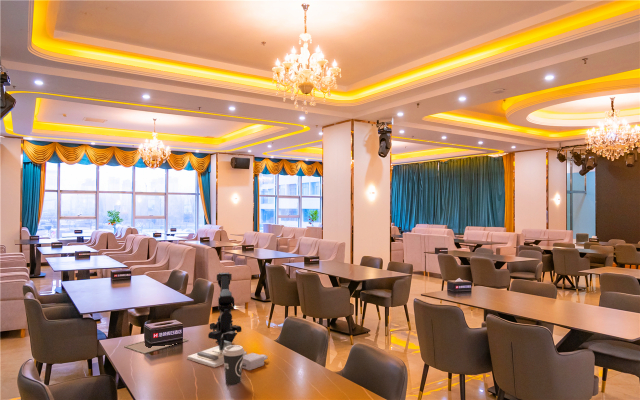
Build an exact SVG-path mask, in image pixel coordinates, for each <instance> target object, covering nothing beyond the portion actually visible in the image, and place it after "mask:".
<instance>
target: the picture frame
mask: <svg viewBox="0 0 640 400" xmlns="http://www.w3.org/2000/svg"><path fill="white" fill-rule="evenodd" d="M144 341H145V340H143V341H138V342H135V343H131V344H128V345H124V346H123V347H124V349H125V348H126V349H129V350H131V351H134V352H137V353H140V354H142V355H146V354H150V353H153V352H156V351H159V350H163V349H166V348H170V347H173V346H175V345H174V344H172V345H173V346H172V345H165V346H152V347H151V348H148V347H146V346H145V343H144ZM186 342H189V339H186V338H183V343H186ZM176 344H177V343H176ZM177 345H178V344H177ZM169 346H170V347H169Z"/></svg>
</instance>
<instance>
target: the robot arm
mask: <svg viewBox="0 0 640 400" xmlns="http://www.w3.org/2000/svg"><path fill="white" fill-rule="evenodd" d="M232 277H233V274H232V273H230V272H218V273H217V274H216V281H217V285H218V287H219V289H220V291H219V296H218V299H217V304H218V305H217V308H218V310H219V315H218V317H217V321H216V322H212V323H209V329H210V330H212V331H210V332H209V333H207V334H208V339H211V340H215V343H217V344H218V346H219V347H220V350H222V349H223V344H224V340H225V341H229V342H231V345H233V342H234V339H235V338H236V336H237V335H238V333H241V332H242V327H241V326H240V325H237V324H233V322H234V321H233V313H232V310H234V307H235V298H234V296H233V293H232V291H231V290H230V284H231V281H232V279H233V278H232Z"/></svg>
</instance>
